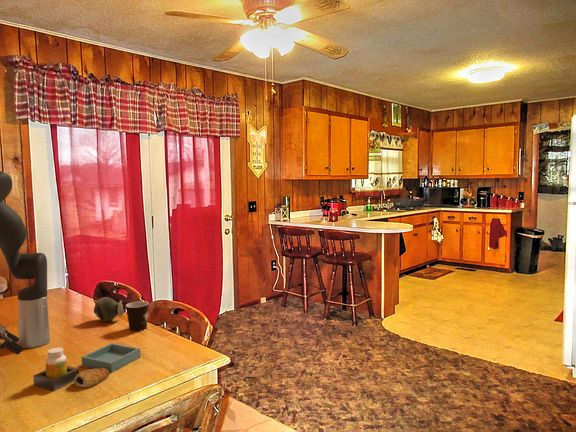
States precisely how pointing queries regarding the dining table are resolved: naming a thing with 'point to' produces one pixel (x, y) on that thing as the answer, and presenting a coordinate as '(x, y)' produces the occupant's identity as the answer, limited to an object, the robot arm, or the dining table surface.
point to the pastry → (91, 377)
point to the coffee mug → (137, 315)
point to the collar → (56, 383)
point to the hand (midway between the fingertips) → (19, 346)
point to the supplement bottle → (56, 363)
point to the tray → (111, 357)
